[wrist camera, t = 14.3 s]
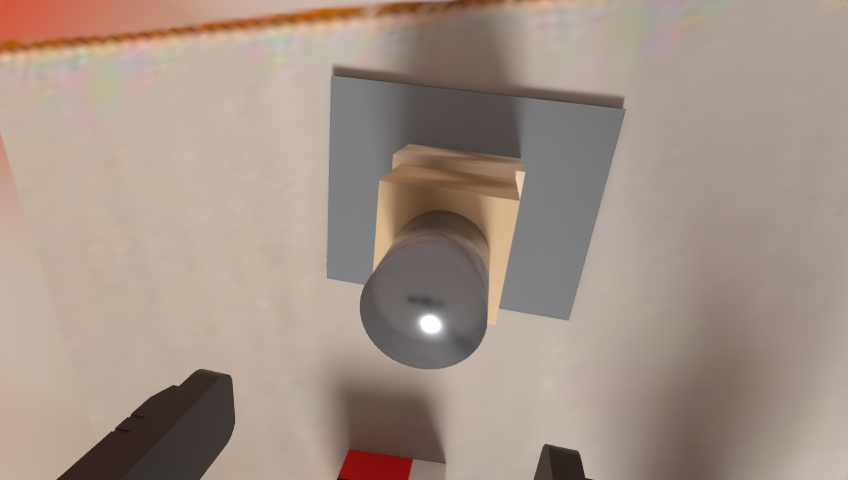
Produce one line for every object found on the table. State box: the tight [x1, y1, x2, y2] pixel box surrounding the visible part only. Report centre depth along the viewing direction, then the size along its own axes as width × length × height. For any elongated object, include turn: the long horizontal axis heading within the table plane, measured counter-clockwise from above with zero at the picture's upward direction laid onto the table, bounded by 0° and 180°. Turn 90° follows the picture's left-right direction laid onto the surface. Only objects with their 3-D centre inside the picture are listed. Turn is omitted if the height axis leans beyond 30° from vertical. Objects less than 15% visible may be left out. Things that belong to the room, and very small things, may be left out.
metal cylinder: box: [360, 210, 490, 369], centre depth 19 cm, size 5×5×6 cm
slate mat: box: [327, 76, 626, 321], centre depth 31 cm, size 20×16×1 cm
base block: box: [392, 144, 525, 198], centre depth 28 cm, size 8×8×5 cm
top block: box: [373, 163, 520, 325], centre depth 24 cm, size 7×7×5 cm
